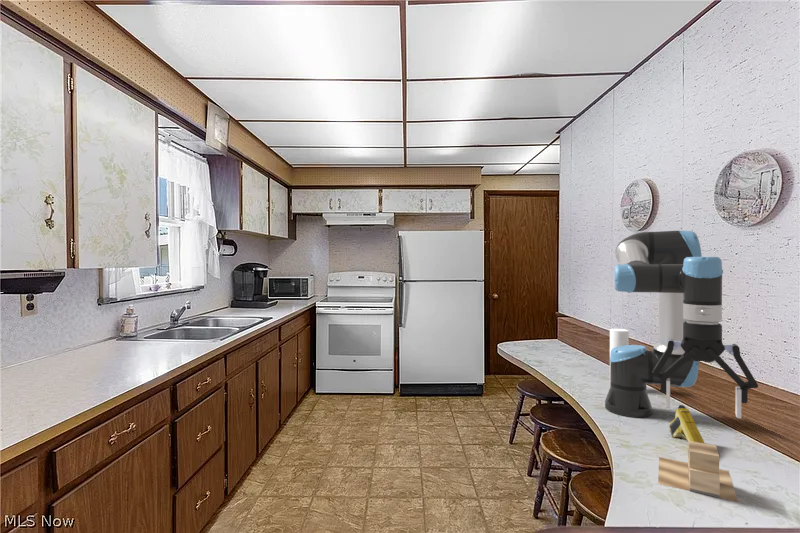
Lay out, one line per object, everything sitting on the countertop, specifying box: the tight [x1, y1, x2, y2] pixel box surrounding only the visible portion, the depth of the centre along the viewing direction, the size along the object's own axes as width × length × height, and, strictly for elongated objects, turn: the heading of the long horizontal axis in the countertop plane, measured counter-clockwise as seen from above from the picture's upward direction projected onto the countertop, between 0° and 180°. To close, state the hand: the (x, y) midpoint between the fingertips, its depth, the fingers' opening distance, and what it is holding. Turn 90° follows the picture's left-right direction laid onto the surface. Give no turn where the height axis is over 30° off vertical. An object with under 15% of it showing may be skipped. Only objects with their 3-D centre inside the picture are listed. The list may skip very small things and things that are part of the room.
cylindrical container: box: [609, 328, 630, 354], centre depth 181 cm, size 7×7×25 cm
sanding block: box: [687, 441, 721, 499], centre depth 101 cm, size 8×6×9 cm
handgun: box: [668, 404, 706, 444], centre depth 124 cm, size 2×19×12 cm
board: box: [657, 456, 739, 503], centre depth 105 cm, size 16×15×2 cm
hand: (702, 411), depth 101 cm, fingers open, 13 cm apart
